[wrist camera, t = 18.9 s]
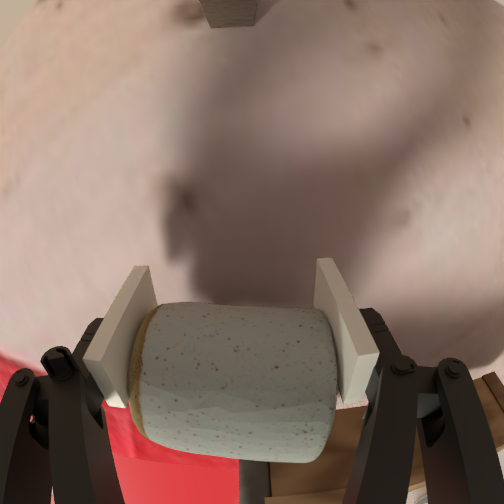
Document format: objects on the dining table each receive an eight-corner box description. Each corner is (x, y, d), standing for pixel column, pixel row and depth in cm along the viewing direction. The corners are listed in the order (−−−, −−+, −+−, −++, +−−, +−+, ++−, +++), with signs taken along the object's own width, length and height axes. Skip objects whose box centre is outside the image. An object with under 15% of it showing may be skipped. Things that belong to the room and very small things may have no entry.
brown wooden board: (238, 421, 22) (239, 520, 14) (238, 407, 21) (239, 514, 13) (483, 381, 23) (517, 441, 15) (492, 367, 22) (530, 428, 14)
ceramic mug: (153, 269, 15) (99, 394, 8) (317, 277, 15) (361, 405, 8) (173, 395, 19) (157, 490, 13) (287, 400, 20) (298, 496, 13)
